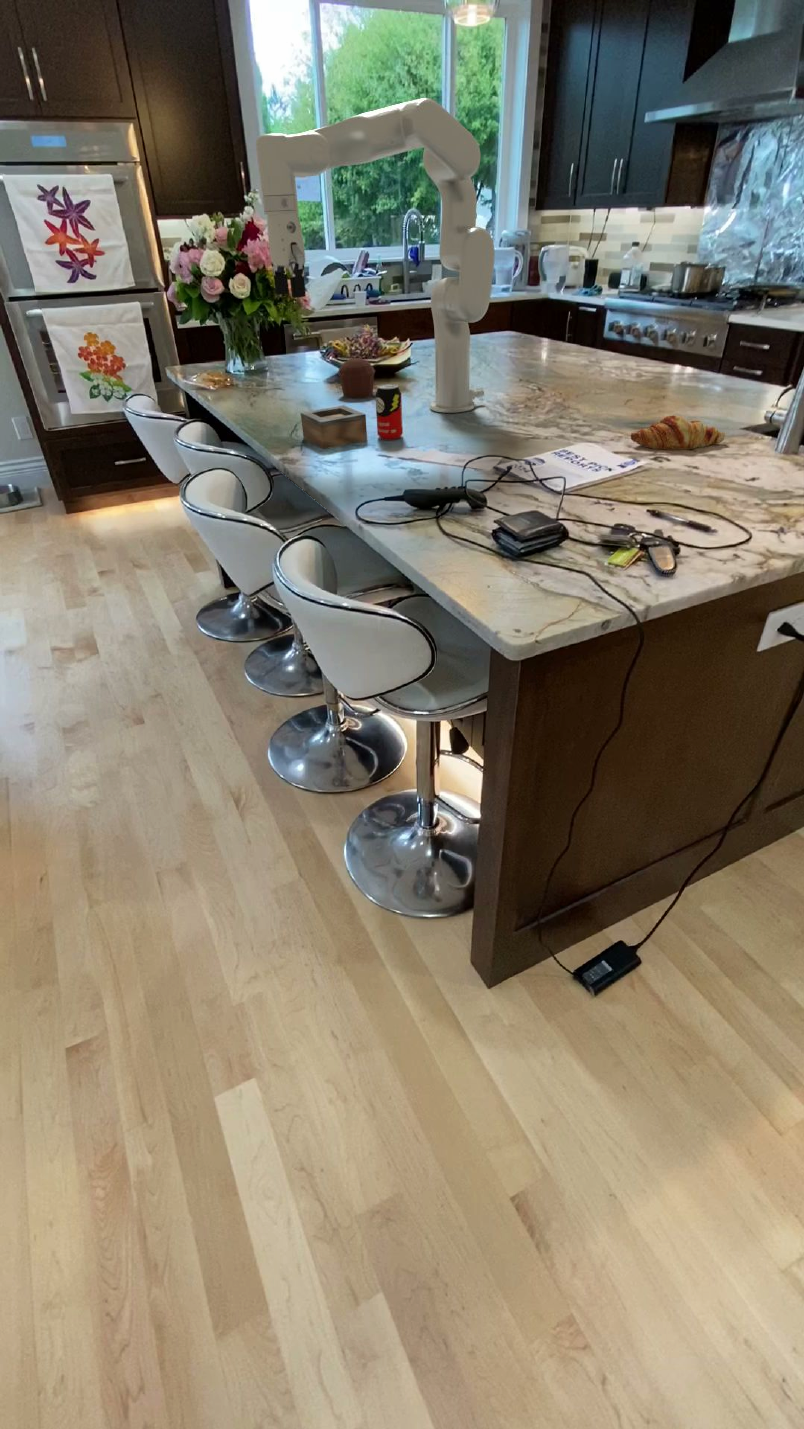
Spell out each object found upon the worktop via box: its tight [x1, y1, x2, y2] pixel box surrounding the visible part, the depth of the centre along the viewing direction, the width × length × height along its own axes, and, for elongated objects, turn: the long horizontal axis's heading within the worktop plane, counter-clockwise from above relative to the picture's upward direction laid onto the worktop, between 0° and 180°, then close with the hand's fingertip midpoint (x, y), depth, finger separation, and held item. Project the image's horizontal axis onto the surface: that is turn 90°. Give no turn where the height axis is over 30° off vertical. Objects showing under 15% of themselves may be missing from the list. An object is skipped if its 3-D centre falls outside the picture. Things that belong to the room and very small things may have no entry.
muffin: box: [337, 357, 376, 399], centre depth 220 cm, size 12×11×10 cm
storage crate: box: [300, 404, 368, 450], centre depth 180 cm, size 12×12×6 cm
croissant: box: [630, 415, 726, 451], centre depth 165 cm, size 21×10×8 cm, turn 89°
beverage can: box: [375, 383, 404, 441], centre depth 178 cm, size 6×6×12 cm
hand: (290, 295), depth 169 cm, fingers open, 9 cm apart
